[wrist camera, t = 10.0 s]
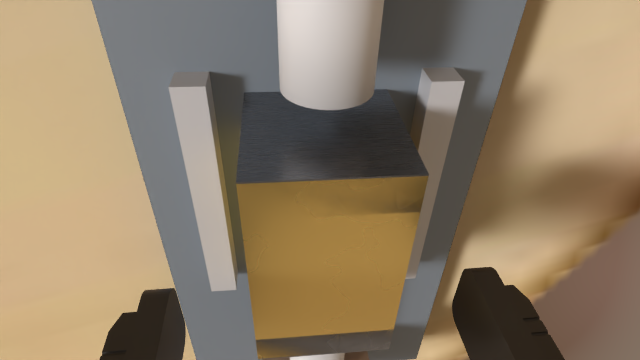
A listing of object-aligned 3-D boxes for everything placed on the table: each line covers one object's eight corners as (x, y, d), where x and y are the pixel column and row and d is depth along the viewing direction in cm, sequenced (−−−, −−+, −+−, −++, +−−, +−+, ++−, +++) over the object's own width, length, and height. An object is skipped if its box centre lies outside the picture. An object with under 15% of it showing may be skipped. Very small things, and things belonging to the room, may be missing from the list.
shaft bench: (409, 335, 25) (446, 462, 20) (204, 350, 24) (187, 489, 19) (589, -327, 9) (993, -541, 4) (14, -369, 8) (-414, -734, 3)
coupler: (243, 92, 13) (235, 182, 10) (386, 89, 14) (428, 174, 10) (259, 258, 18) (258, 359, 14) (365, 252, 18) (389, 349, 15)
